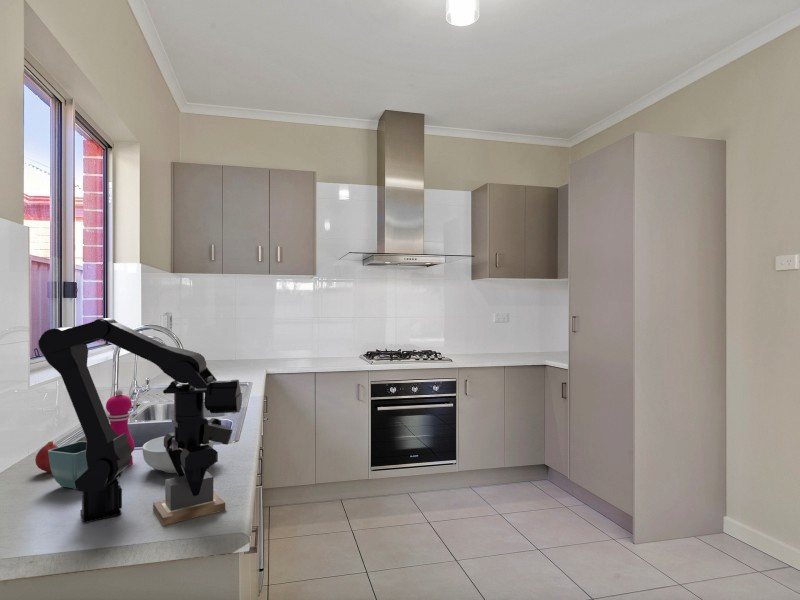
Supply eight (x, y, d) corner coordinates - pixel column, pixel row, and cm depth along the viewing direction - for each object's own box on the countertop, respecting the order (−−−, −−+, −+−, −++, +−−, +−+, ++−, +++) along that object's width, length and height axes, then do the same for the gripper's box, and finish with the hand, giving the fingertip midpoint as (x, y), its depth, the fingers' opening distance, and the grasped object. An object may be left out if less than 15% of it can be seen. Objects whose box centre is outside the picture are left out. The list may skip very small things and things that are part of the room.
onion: (37, 478, 125) (36, 445, 124) (34, 472, 129) (34, 440, 129) (65, 472, 128) (65, 441, 128) (61, 467, 133) (61, 436, 133)
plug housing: (170, 510, 102) (170, 486, 102) (165, 503, 105) (165, 479, 105) (213, 500, 107) (213, 476, 107) (207, 494, 110) (206, 471, 110)
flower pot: (81, 476, 126) (81, 440, 126) (108, 480, 123) (108, 443, 123) (46, 488, 118) (46, 450, 118) (74, 493, 115) (74, 454, 115)
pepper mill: (127, 458, 140) (127, 385, 139) (139, 464, 135) (139, 388, 135) (98, 465, 134) (98, 389, 134) (110, 471, 129) (109, 392, 129)
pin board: (163, 525, 99) (163, 517, 99) (153, 510, 106) (153, 502, 106) (225, 509, 106) (225, 502, 106) (211, 496, 113) (211, 489, 113)
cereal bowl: (183, 454, 143) (182, 429, 143) (227, 462, 136) (227, 436, 136) (127, 473, 128) (127, 445, 128) (174, 484, 121) (174, 454, 121)
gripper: (243, 416, 103) (243, 493, 103) (214, 401, 118) (215, 468, 118) (185, 425, 97) (186, 507, 97) (162, 407, 111) (163, 479, 112)
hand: (189, 488), depth 106 cm, fingers open, 9 cm apart
